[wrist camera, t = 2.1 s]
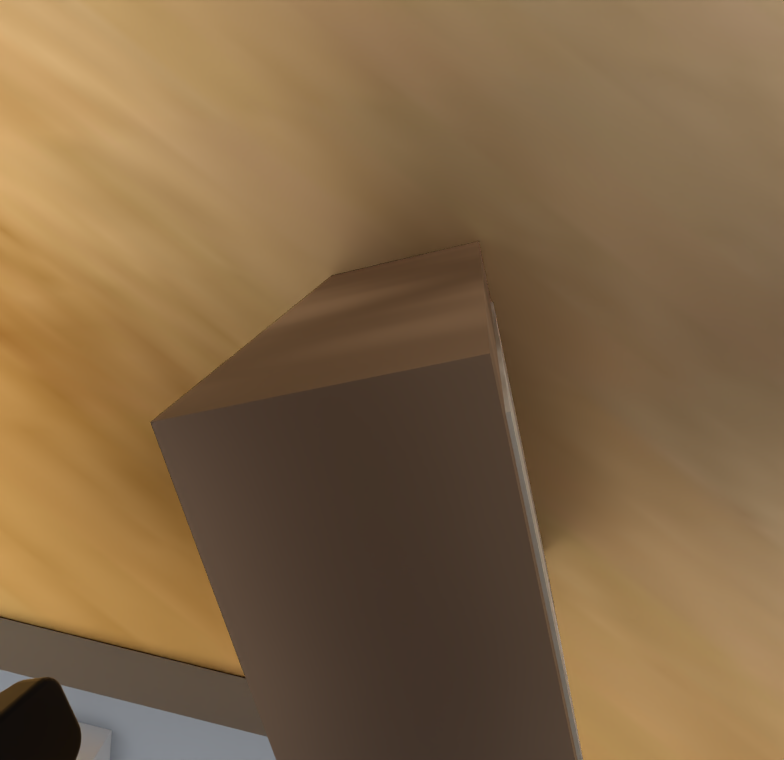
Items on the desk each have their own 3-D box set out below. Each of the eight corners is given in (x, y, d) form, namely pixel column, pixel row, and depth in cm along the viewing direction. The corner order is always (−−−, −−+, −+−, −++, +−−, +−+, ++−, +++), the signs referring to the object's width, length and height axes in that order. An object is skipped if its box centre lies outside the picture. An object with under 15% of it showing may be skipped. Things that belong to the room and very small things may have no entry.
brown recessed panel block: (481, 240, 13) (495, 350, 5) (543, 550, 15) (620, 958, 7) (329, 276, 13) (144, 423, 6) (409, 571, 15) (349, 968, 8)
